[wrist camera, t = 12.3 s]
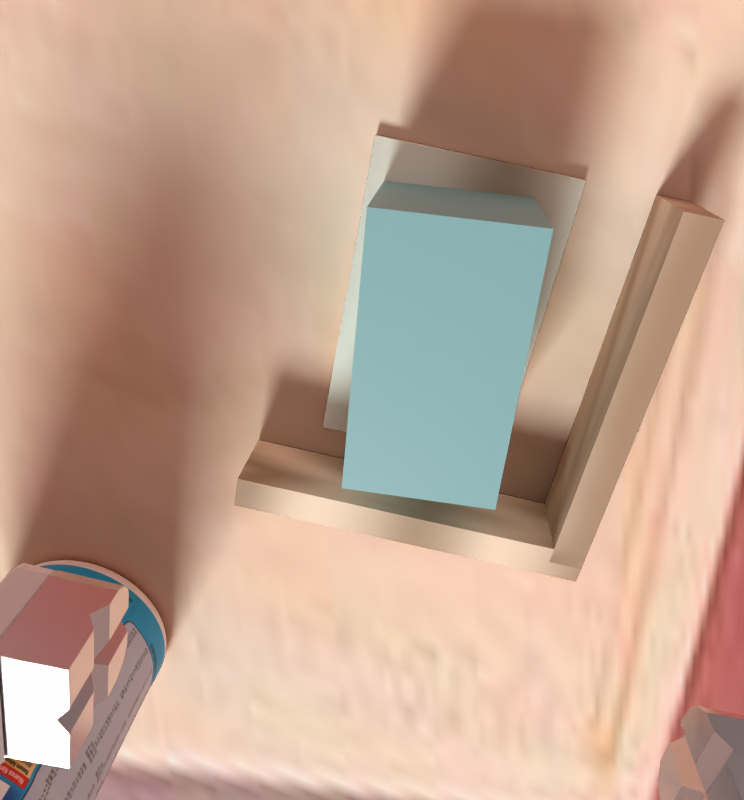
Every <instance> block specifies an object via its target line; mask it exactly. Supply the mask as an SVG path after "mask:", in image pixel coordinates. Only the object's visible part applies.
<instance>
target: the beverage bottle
mask: <svg viewBox="0 0 744 800" xmlns="http://www.w3.org/2000/svg"><path fill="white" fill-rule="evenodd" d="M35 566H39V567H43V568H48V569H52V570H56V571H57V570H59V571H64V572H68V573H72V574H76V575H80V576H85V577H89V578H93V579H97V580H102V581H106V582H110V583H114V584H118V585H123V586H125V587H126V588H128V589H129V607H128V609H127V611H126V613H125V614H124V616H123V618H122V620H121V622H122V623H123V625H124V626H125V627H126V629H127V630H128V634H127V646H126V651H125V656H124V661H123V663H122V666H121V669H120V672H119V675H118V678H117V680H116V682H115V684H114V686H113V688H112V690H111V692H110V694H109V696H108V698H107V699H105V700H103V701H102V702H100V703H98V704H97V705H95V706H93V726H92V728H91V730H90V732H89V734H88V735H87V737H86V739H85V741H84V743H83V745H82V747H81V748H80V750H79V752H78V754H77V756H76V758H75V760H74V761H73V763H72V765H71V767H70V769H69V768H63V767H57V766H52V765H46V764H41V763H35V762H30V761H24V760H19V759H13V758H7V757H5V762H3V763H2V764H1V765H0V800H95V798H96V796H97V794H98V792H99V790H100V788H101V786H102V784H103V782H104V780H105V778H106V776H107V774H108V772H109V770H110V768H111V765H112V763H113V761H114V759H115V757H116V755H117V753H118V751H119V749H120V747H121V745H122V743H123V741H124V739H125V737H126V735H127V733H128V731H129V729H130V726H131V724H132V722H133V720H134V718H135V716H136V714H137V712H138V710H139V708H140V706H141V704H142V702H143V700H144V698H145V696H146V694H147V692H148V690H149V688H150V687H151V685H152V683H153V682H154V680H155V678H156V676H157V674H158V672H159V670H160V668H161V666H162V664H163V661H164V658H165V653H166V633H165V629H164V625H163V622H162V620H161V617H160V615H159V613H158V612H157V610H156V608H155V607H154V605H153V604H152V602H151V601H150V600H149V599H148V598H147V596H146V595H145V594H144V593H143V592H142V591H141V590H140V589H139V588H137V587H136V586H135V585H134V584H132V583H131V582H130V581H128V580H127V579H125V578H124V577H122V576H120V575H119V574H117V573H115V572H113V571H111V570H109V569H106V568H104V567H101V566H98V565H95V564H91V563H87V562H82V561H75V560H56V561H49V562H44V563H40V564H37V565H35Z"/></svg>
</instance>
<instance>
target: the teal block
mask: <svg viewBox="0 0 744 800" xmlns="http://www.w3.org/2000/svg"><path fill="white" fill-rule="evenodd" d="M552 234H553V227H552V226H551V224H550V222H549V221H548V219H547V217H546V216H545V214H544V213H543V211H542V209H541V208H540V206H539V204H538V203H537V201H536V200H535V198H531V197H522V196H513V195H505V194H496V193H487V192H479V191H470V190H461V189H453V188H444V187H435V186H427V185H418V184H409V183H401V182H392V181H384V182H383V183H382V185H381V186H380V188H379V189H378V191H377V192H376V194H375V195H374V197H373V198H372V200H371V201H370V203H369V204H368V206H367V211H366V222H365V233H364V244H363V255H362V266H361V277H360V289H359V300H358V311H357V322H356V333H355V344H354V355H353V367H352V378H351V389H350V400H349V411H348V422H347V433H346V445H345V456H344V467H343V478H342V488H344V489H351V490H358V491H365V492H372V493H379V494H387V495H394V496H401V497H408V498H415V499H422V500H429V501H436V502H443V503H450V504H457V505H464V506H471V507H479V508H486V509H493V510H495V509H496V504H497V499H498V495H499V490H500V485H501V480H502V475H503V470H504V466H505V461H506V456H507V451H508V446H509V441H510V437H511V432H512V427H513V422H514V417H515V412H516V408H517V403H518V398H519V393H520V388H521V383H522V379H523V374H524V369H525V364H526V359H527V354H528V350H529V345H530V340H531V335H532V330H533V325H534V321H535V316H536V311H537V306H538V301H539V296H540V292H541V287H542V282H543V277H544V272H545V267H546V263H547V258H548V253H549V248H550V243H551V238H552Z"/></svg>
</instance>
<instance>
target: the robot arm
mask: <svg viewBox="0 0 744 800" xmlns="http://www.w3.org/2000/svg"><path fill="white" fill-rule="evenodd" d="M128 607H129V589H128V588H126V587H125V586H123V585H118V584H114V583H110V582H106V581H102V580H97V579H93V578H89V577H85V576H80V575H76V574H72V573H68V572H64V571H59V570H57V571H56V570H52V569H48V568H43V567H39V566H35V565H31V564H27V563H22V564H20V565H18V566H16V567H14V568H13V569H12V570H11V571H10V572H9V573H8V574H7V575H6V576H5V578H4V579H3V580H2V581H1V582H0V765H1V764H2V763H3V762H5V757H7V758H13V759H19V760H24V761H30V762H35V763H41V764H46V765H52V766H57V767H63V768H69V769H70V767H71V765H72V763H73V761H74V760H75V758H76V756H77V754H78V752H79V750H80V748H81V747H82V745H83V743H84V741H85V739H86V737H87V735H88V734H89V732H90V730H91V728H92V726H93V706H95V705H97V704H98V703H100V702H102V701H103V700H105V699H107V698H108V696H109V694H110V692H111V690H112V688H113V686H114V684H115V682H116V680H117V678H118V675H119V672H120V669H121V666H122V663H123V661H124V656H125V651H126V646H127V634H128V630H127V629H126V627H125V626H124V625H123V623H122V622H121V620H122V618H123V616H124V614H125V613H126V611H127V609H128ZM681 726H682V729H683V732H684V735H685V736H684V737H682V738H680V739H678V740H676V741H674V742H672V743H670V744H669V745H668V747H667V749H666V751H665V753H664V755H663V757H662V759H661V762H660V770H659V778H658V784H659V793H660V799H661V800H744V715H740V714H735V713H730V712H725V711H720V710H715V709H710V708H705V707H700V706H695V707H693V708H692V709H690V710H688V711H687V713H686V715H685V716H684V718H683V720H682V722H681Z"/></svg>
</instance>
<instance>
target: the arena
mask: <svg viewBox="0 0 744 800" xmlns="http://www.w3.org/2000/svg"><path fill="white" fill-rule="evenodd" d="M384 181H392V182H401V183H409V184H418V185H427V186H435V187H444V188H453V189H461V190H470V191H479V192H487V193H496V194H505V195H513V196H522V197H531V198H535V200H536V201H537V203H538V204H539V206H540V208H541V209H542V211H543V213H544V214H545V216H546V217H547V219H548V221H549V222H550V224H551V226H552V227H553V234H552V238H551V243H550V248H549V253H548V258H547V263H546V267H545V272H544V277H543V282H542V287H541V292H540V296H539V301H538V306H537V311H536V316H535V321H534V325H533V330H532V335H531V340H530V345H529V350H528V354H527V359H526V364H525V369H524V374H523V379H524V376H525V373H526V370H527V367H528V364H529V360H530V357H531V354H532V351H533V348H534V345H535V341H536V338H537V335H538V332H539V329H540V326H541V322H542V319H543V316H544V313H545V310H546V307H547V303H548V300H549V297H550V294H551V291H552V288H553V284H554V281H555V278H556V275H557V272H558V269H559V265H560V262H561V259H562V256H563V253H564V250H565V246H566V243H567V240H568V237H569V234H570V231H571V227H572V224H573V221H574V218H575V215H576V212H577V208H578V205H579V202H580V199H581V196H582V193H583V189H584V186H585V183H586V180H585V179H581V178H576V177H571V176H567V175H562V174H557V173H553V172H548V171H543V170H539V169H534V168H529V167H525V166H520V165H515V164H511V163H506V162H501V161H497V160H492V159H487V158H483V157H478V156H473V155H469V154H464V153H459V152H455V151H450V150H445V149H441V148H436V147H431V146H427V145H422V144H417V143H413V142H408V141H403V140H399V139H394V138H389V137H385V136H380V135H375V139H374V144H373V150H372V155H371V161H370V166H369V172H368V177H367V183H366V189H365V194H364V200H363V205H362V211H361V216H360V222H359V227H358V233H357V238H356V244H355V249H354V255H353V261H352V266H351V272H350V277H349V283H348V288H347V294H346V299H345V305H344V310H343V316H342V322H341V327H340V333H339V338H338V344H337V349H336V355H335V360H334V366H333V371H332V377H331V383H330V388H329V394H328V399H327V405H326V410H325V416H324V421H323V427H324V428H329V429H334V430H338V431H343V432H347V422H348V411H349V400H350V389H351V378H352V367H353V355H354V344H355V333H356V322H357V311H358V300H359V289H360V277H361V266H362V255H363V244H364V233H365V222H366V211H367V206H368V204H369V203H370V201H371V200H372V198H373V197H374V195H375V194H376V192H377V191H378V189H379V188H380V186H381V185H382V183H383V182H384ZM723 223H724V220H723V219H721V218H720V217H718V216H716V215H714V214H712V213H711V212H709V211H707V210H705V209H704V208H702V207H700V206H698V205H696V204H695V203H693V202H688V201H683V200H679V199H674V198H669V197H665V196H660V195H656V198H655V201H654V204H653V207H652V209H651V212H650V215H649V218H648V220H647V223H646V226H645V229H644V231H643V234H642V237H641V240H640V242H639V245H638V248H637V251H636V253H635V256H634V259H633V262H632V264H631V267H630V270H629V273H628V276H627V278H626V281H625V284H624V287H623V289H622V292H621V295H620V298H619V300H618V303H617V306H616V309H615V311H614V314H613V317H612V320H611V322H610V325H609V328H608V331H607V333H606V336H605V339H604V342H603V345H602V347H601V350H600V353H599V356H598V358H597V361H596V364H595V367H594V369H593V372H592V375H591V378H590V380H589V383H588V386H587V389H586V391H585V394H584V397H583V400H582V402H581V405H580V408H579V411H578V413H577V416H576V419H575V422H574V425H573V427H572V430H571V433H570V436H569V438H568V441H567V444H566V447H565V449H564V452H563V455H562V458H561V460H560V463H559V466H558V469H557V471H556V474H555V477H554V480H553V482H552V485H551V488H550V491H549V494H548V496H547V499H546V502H545V504H544V503H540V502H535V501H531V500H526V499H522V498H517V497H513V496H508V495H504V494H499V495H498V499H497V504H496V509H495V510H493V509H486V508H479V507H471V506H464V505H457V504H450V503H443V502H436V501H429V500H422V499H415V498H408V497H401V496H394V495H387V494H379V493H372V492H365V491H358V490H351V489H344V488H342V478H343V467H344V459H342V458H337V457H333V456H328V455H324V454H319V453H315V452H310V451H306V450H301V449H297V448H292V447H288V446H283V445H279V444H274V443H270V442H265V441H261V440H258V442H257V444H256V446H255V448H254V450H253V451H252V453H251V455H250V457H249V459H248V461H247V463H246V464H245V466H244V468H243V470H242V472H241V474H240V476H239V478H238V482H237V490H236V498H235V505H236V506H240V507H245V508H249V509H254V510H258V511H263V512H267V513H272V514H276V515H281V516H285V517H290V518H294V519H298V520H303V521H307V522H312V523H316V524H321V525H325V526H330V527H334V528H339V529H343V530H348V531H352V532H356V533H361V534H365V535H370V536H374V537H379V538H383V539H388V540H392V541H397V542H401V543H406V544H410V545H415V546H419V547H423V548H428V549H432V550H437V551H441V552H446V553H450V554H455V555H459V556H464V557H468V558H473V559H477V560H481V561H486V562H490V563H495V564H499V565H504V566H508V567H513V568H517V569H522V570H526V571H531V572H535V573H540V574H544V575H548V576H553V577H557V578H562V579H566V580H571V581H575V582H576V580H577V578H578V576H579V573H580V571H581V568H582V566H583V563H584V561H585V559H586V556H587V554H588V551H589V549H590V546H591V544H592V542H593V539H594V537H595V534H596V532H597V529H598V527H599V524H600V522H601V520H602V517H603V515H604V512H605V510H606V507H607V505H608V503H609V500H610V498H611V495H612V493H613V490H614V488H615V486H616V483H617V481H618V478H619V476H620V473H621V471H622V469H623V466H624V464H625V461H626V459H627V456H628V454H629V452H630V449H631V447H632V444H633V442H634V439H635V437H636V434H637V432H638V430H639V427H640V425H641V422H642V420H643V417H644V415H645V413H646V410H647V408H648V405H649V403H650V400H651V398H652V396H653V393H654V391H655V388H656V386H657V383H658V381H659V379H660V376H661V374H662V371H663V369H664V366H665V364H666V362H667V359H668V357H669V354H670V352H671V349H672V347H673V344H674V342H675V340H676V337H677V335H678V332H679V330H680V327H681V325H682V323H683V320H684V318H685V315H686V313H687V310H688V308H689V306H690V303H691V301H692V298H693V296H694V293H695V291H696V289H697V286H698V284H699V281H700V279H701V276H702V274H703V272H704V269H705V267H706V264H707V262H708V259H709V257H710V254H711V252H712V250H713V247H714V245H715V242H716V240H717V237H718V235H719V233H720V230H721V228H722V225H723ZM523 379H522V383H523ZM522 383H521V386H522ZM520 389H521V388H520Z"/></svg>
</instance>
